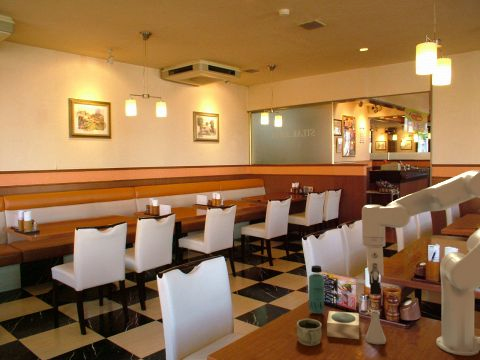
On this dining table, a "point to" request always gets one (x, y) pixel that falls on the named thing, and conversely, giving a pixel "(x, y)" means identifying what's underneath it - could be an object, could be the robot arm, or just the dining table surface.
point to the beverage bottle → (316, 290)
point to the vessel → (309, 331)
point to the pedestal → (343, 325)
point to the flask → (375, 330)
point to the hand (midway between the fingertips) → (374, 289)
